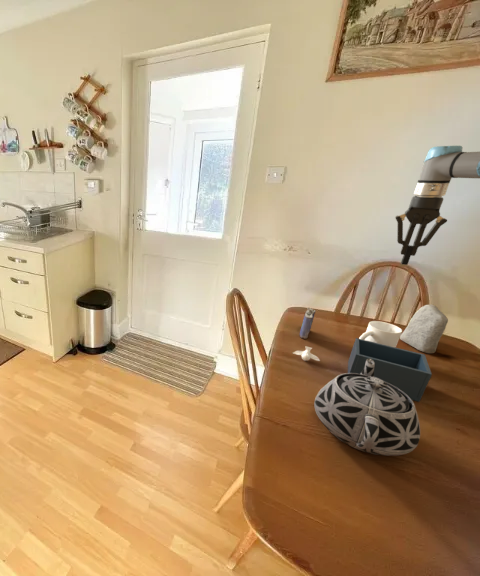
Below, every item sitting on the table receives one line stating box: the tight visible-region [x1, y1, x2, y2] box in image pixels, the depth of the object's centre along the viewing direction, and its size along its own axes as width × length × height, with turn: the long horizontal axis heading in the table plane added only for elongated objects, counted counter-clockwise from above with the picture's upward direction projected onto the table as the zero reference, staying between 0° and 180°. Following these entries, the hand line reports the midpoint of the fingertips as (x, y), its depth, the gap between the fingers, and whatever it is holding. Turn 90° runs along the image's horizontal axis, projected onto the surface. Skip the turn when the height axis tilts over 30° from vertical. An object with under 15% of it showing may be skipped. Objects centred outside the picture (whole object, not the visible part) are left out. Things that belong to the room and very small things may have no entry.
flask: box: [299, 307, 316, 340], centre depth 117 cm, size 9×3×11 cm, turn 140°
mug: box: [358, 320, 403, 348], centre depth 104 cm, size 12×8×10 cm
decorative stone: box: [399, 303, 449, 354], centre depth 107 cm, size 11×6×15 cm, turn 171°
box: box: [347, 337, 433, 403], centre depth 91 cm, size 16×12×9 cm
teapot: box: [313, 359, 421, 457], centre depth 73 cm, size 19×31×15 cm, turn 142°
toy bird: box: [292, 345, 321, 362], centre depth 103 cm, size 8×5×5 cm, turn 51°
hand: (404, 263), depth 113 cm, fingers closed
